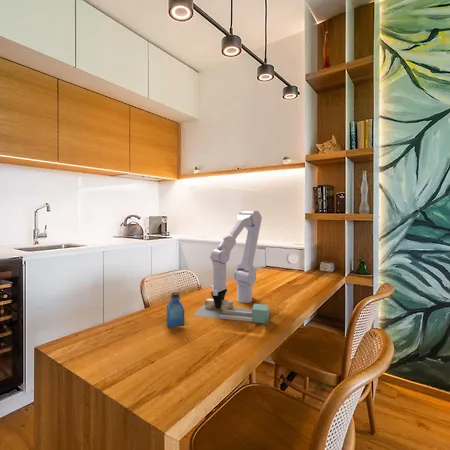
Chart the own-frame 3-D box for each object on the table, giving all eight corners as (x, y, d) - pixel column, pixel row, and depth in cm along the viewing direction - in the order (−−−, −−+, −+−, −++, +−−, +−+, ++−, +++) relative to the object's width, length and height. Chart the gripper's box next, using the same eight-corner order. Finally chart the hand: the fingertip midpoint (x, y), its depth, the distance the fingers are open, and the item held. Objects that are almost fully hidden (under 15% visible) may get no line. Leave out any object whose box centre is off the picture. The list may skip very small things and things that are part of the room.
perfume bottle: (167, 327, 109) (167, 296, 108) (166, 321, 115) (166, 291, 114) (184, 325, 111) (184, 295, 110) (182, 319, 116) (182, 290, 116)
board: (203, 306, 132) (203, 293, 132) (269, 313, 125) (270, 299, 125) (193, 317, 118) (193, 303, 118) (266, 326, 111) (267, 310, 111)
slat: (205, 308, 127) (205, 300, 127) (207, 305, 130) (207, 298, 130) (231, 310, 124) (231, 302, 124) (233, 308, 127) (233, 300, 127)
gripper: (215, 272, 134) (214, 300, 135) (205, 279, 120) (205, 311, 121) (229, 273, 132) (229, 302, 133) (222, 281, 118) (221, 313, 119)
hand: (219, 306), depth 127 cm, fingers closed on slat, 3 cm apart
